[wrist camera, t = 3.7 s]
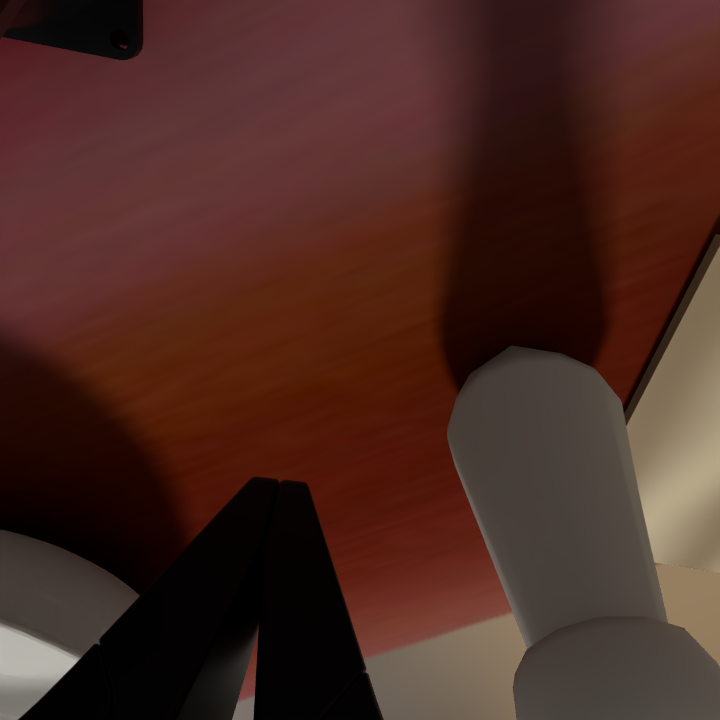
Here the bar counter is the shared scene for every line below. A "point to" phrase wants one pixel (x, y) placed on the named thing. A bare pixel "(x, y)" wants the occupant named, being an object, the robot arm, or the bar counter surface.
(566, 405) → the salt shaker
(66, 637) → the serving bowl
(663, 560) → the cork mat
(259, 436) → the bar counter surface
